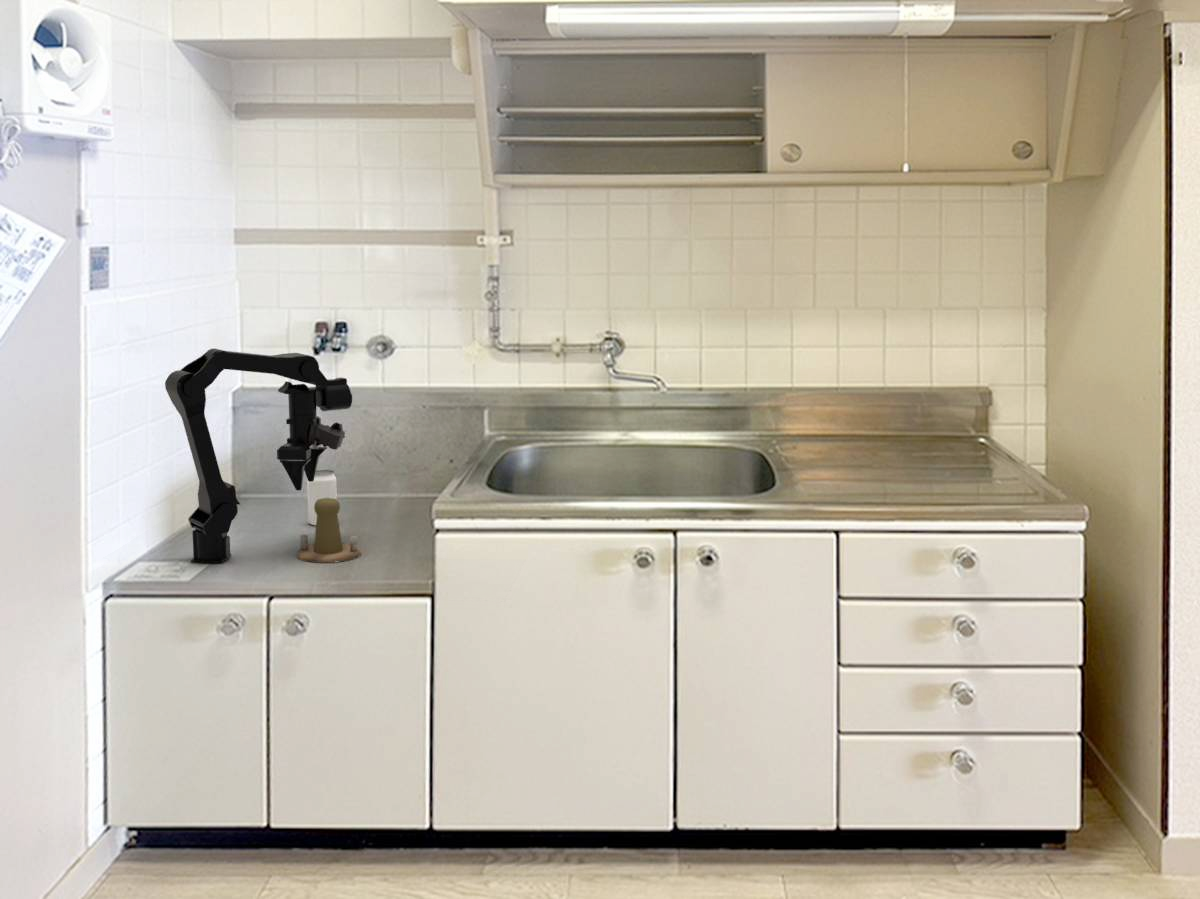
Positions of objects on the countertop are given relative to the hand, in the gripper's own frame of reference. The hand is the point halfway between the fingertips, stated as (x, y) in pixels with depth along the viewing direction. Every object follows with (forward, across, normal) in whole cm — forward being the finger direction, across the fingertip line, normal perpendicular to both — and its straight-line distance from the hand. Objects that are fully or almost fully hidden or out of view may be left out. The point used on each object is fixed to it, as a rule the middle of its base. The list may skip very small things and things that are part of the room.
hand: (304, 485), depth 304 cm
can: (+13, +20, +2) cm, 24 cm away
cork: (+12, -8, -7) cm, 16 cm away
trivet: (+13, -8, -7) cm, 17 cm away
